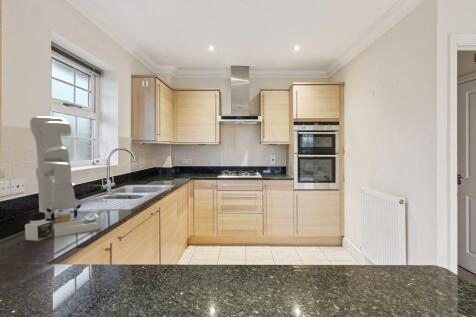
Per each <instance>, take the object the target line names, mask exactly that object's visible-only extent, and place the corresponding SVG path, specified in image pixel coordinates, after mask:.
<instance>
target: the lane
mask: <svg viewBox="0 0 476 317" xmlns="http://www.w3.org/2000/svg"><path fill="white" fill-rule="evenodd" d="M93 219H95V222H94V223H88V224H85V220H84V219H79V220H72V221H71V222H64V223H53V234H54V237H61V236H67V235H73V234H74V235H75V234H79V233H85V232H92V231H97V230H100V229H101V227H100V216H99V215H98V214H97V213H94V214H93V217H92V218H89V220H93Z"/></svg>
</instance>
